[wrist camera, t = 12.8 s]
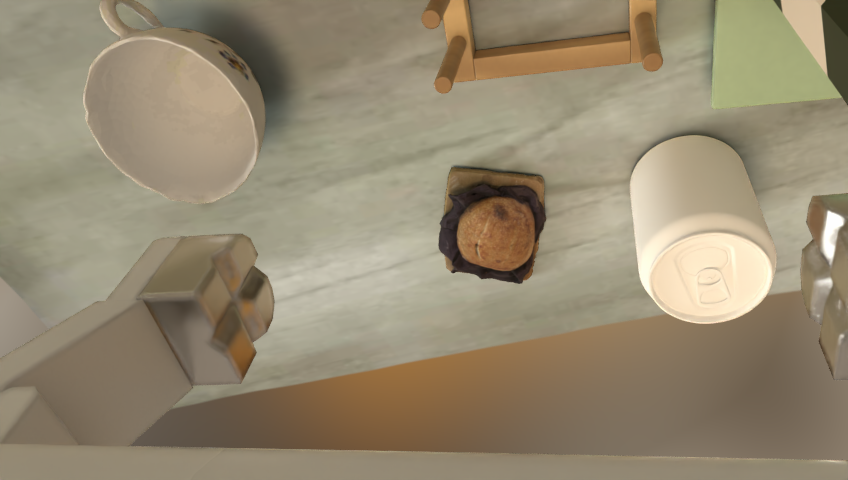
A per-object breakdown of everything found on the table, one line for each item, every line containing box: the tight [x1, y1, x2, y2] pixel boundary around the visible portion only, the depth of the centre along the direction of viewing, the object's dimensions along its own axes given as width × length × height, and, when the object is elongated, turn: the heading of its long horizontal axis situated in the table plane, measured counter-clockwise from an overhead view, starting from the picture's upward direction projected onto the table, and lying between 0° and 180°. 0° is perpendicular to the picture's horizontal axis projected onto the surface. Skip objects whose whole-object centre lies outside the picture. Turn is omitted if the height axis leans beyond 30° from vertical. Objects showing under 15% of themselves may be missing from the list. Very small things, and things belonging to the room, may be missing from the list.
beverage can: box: [630, 135, 777, 323], centre depth 47 cm, size 8×8×12 cm
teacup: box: [83, 0, 265, 204], centre depth 50 cm, size 15×12×8 cm
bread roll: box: [438, 167, 546, 284], centre depth 56 cm, size 11×8×4 cm
